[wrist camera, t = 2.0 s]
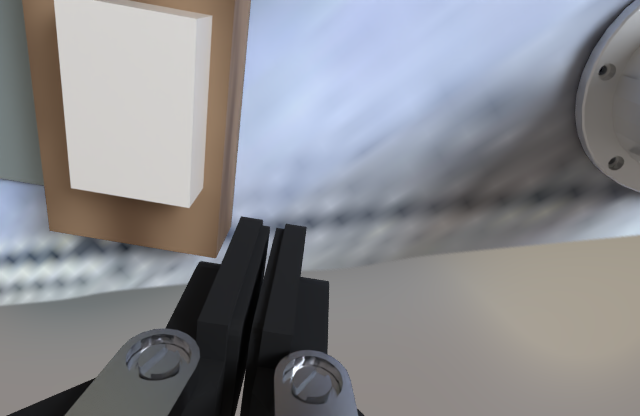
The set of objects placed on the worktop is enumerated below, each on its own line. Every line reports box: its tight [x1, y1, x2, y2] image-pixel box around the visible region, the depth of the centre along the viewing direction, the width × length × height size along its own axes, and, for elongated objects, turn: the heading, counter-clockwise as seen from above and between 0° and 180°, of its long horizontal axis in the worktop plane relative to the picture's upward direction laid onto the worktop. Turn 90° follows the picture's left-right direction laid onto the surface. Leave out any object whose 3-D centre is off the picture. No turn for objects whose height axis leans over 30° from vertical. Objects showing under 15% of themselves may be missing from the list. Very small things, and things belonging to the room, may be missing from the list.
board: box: [22, 0, 251, 258], centre depth 25 cm, size 10×18×4 cm, turn 170°
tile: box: [54, 0, 212, 208], centre depth 22 cm, size 6×9×2 cm, turn 170°
